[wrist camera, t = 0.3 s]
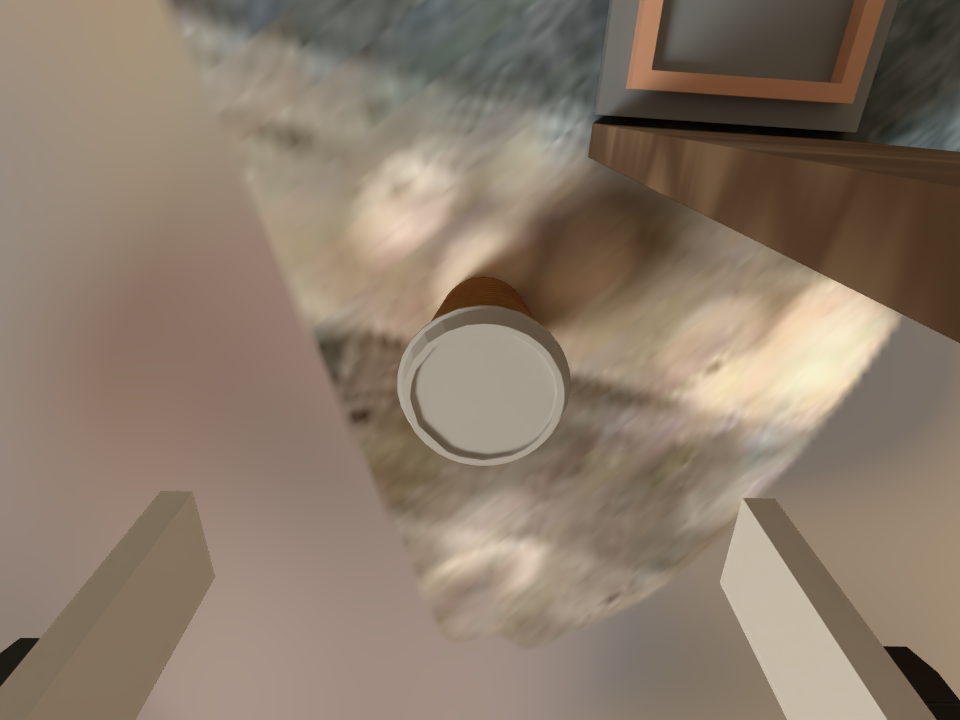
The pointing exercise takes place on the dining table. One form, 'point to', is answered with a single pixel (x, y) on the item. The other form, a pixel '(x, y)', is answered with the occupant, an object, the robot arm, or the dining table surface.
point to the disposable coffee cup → (483, 377)
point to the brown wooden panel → (817, 205)
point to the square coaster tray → (743, 61)
